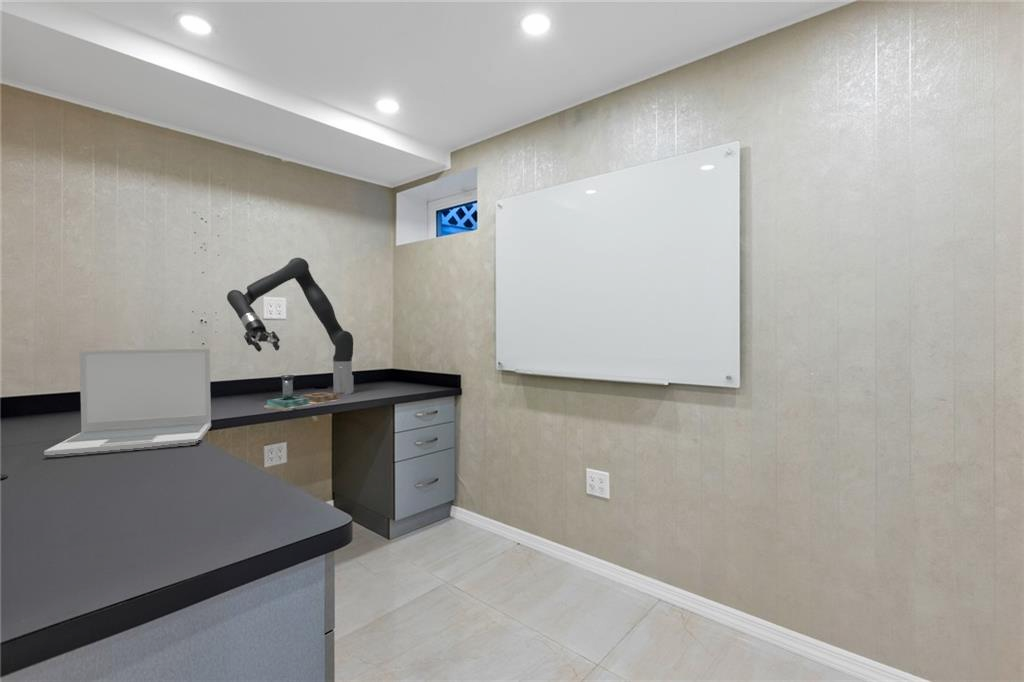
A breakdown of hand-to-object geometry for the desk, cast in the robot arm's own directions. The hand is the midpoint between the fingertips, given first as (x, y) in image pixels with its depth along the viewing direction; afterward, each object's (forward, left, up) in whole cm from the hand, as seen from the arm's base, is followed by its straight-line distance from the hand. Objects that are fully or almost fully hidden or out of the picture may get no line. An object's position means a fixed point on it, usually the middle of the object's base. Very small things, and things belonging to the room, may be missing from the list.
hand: (269, 349), depth 215 cm
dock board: (-8, +13, -25) cm, 29 cm away
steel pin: (0, +13, -24) cm, 27 cm away
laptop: (+63, +29, -26) cm, 74 cm away
